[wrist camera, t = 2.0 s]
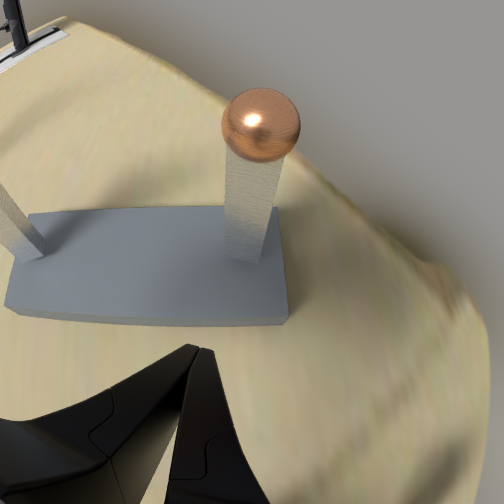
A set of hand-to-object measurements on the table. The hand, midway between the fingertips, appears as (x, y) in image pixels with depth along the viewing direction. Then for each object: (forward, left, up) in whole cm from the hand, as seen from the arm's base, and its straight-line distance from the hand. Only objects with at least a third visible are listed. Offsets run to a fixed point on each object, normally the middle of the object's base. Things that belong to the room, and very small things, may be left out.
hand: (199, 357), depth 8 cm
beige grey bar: (-4, +16, -10) cm, 20 cm away
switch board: (+2, +10, -12) cm, 16 cm away
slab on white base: (+13, +104, -13) cm, 105 cm away
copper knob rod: (+8, +4, -10) cm, 13 cm away
